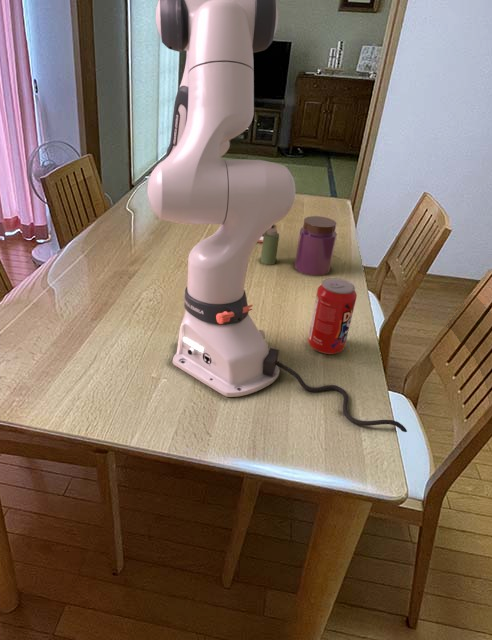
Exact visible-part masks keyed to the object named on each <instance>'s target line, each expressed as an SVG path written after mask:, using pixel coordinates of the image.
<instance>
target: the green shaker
mask: <svg viewBox="0 0 492 640" xmlns="http://www.w3.org/2000/svg"><path fill="white" fill-rule="evenodd" d="M279 240H280V233H279V232H278V229H276V228H274V227H273V228H272V227H271V228H269V229H268V230H267V232H265V233H264V236H263V242H262V246H261V253H260V262H261V263H262V264H265V265H274V264H276V262H277V256H278V255H277V254H278V247H279Z"/></svg>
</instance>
